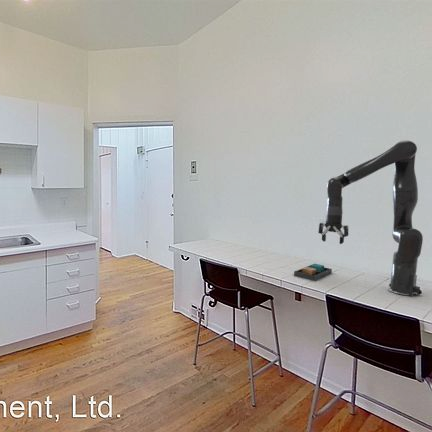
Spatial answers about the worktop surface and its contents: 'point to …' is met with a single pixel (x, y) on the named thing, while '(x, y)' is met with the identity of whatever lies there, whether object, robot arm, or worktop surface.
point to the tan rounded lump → (309, 271)
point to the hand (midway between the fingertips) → (332, 242)
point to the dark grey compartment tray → (310, 277)
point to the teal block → (318, 267)
